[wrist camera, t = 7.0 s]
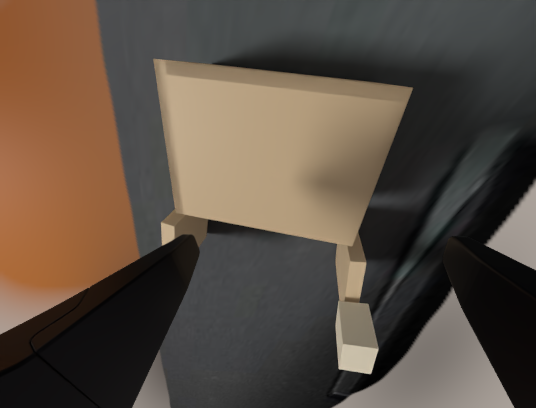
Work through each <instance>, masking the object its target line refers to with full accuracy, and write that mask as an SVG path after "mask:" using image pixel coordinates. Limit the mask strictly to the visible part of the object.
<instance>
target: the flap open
mask: <svg viewBox="0 0 536 408" xmlns="http://www.w3.org/2000/svg"><path fill="white" fill-rule="evenodd" d="M365 268H366V259H365V255H364V252H363V248H362V244H361V240H360V237H359V233H357V235H356V238H355V241H354V243H353V246H347V245H342V244H337V251H336V271H337V280H338V290H339V299H340V301H338V309H337V318H336V338H337V351H338V363H339V369H342V370H348V371H355V372H361V373H367V374H371V372H372V369H373V365H374V362H375V359H376V355H377V352H378V345H377V340H376V336H375V331H374V327H373V323H372V318H371V314H370V310H369V305H368V304H363V303H359V300H360V294H361V289H362V284H363V278H364V273H365Z"/></svg>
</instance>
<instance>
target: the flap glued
mask: <svg viewBox="0 0 536 408" xmlns="http://www.w3.org/2000/svg"><path fill="white" fill-rule="evenodd" d="M207 225H208V219H205V218H200V217H194V216H189V215H184V214H179V213H176V211H175V210H174V211H173V212H172V213H171V214H170V215H168V216H167V217H166V218H165V219H164V220H163V221H162V222H161V230H162V246H163V245H165V244H166V243H168V242H170V241H172V240H173V239H175V238H177V237H179V236H180V235H182V234H192V235H194V237H195V239H196V242H197V244H198V247H199V246H200V245H201V243H202V242H203V240H204V239H205V237H206V235H207Z"/></svg>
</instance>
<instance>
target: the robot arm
mask: <svg viewBox="0 0 536 408" xmlns="http://www.w3.org/2000/svg"><path fill="white" fill-rule="evenodd" d="M199 253H200V251H199V247H198V244H197V242H196V239H195V237H194V235H192V234H182V235H180V236H179V237H177V238H175V239H173V240H172V241H170V242H168V243H166V244H165V245H163V246H161V247H159V248H158V249H156V250H154V251H152V252H150V253H149V254H147V255H145V256H143V257H142V258H140V259H138V260H136V261H135V262H133V263H131V264H129V265H128V266H126V267H124V268H122V269H121V270H119V271H117V272H115V273H113V274H112V275H110V276H108V277H106V278H105V279H103V280H101V281H99V282H98V283H96V284H94V285H92V286H91V287H90V288H87V289H85V290H84V291H82V292H80V293H78V294H76V295H75V296H73V297H71V298H69V299H67V300H65V301H64V302H62V303H60V304H58V305H56V306H54V307H53V308H51V309H49V310H47V311H45V312H43V313H41V314H39V315H37V316H35V317H33V318H32V319H30V320H28V321H26V322H24V323H22V324H20V325H18V326H16V327H14V328H12V329H10V330H8V331H6V332H4V333H2V334H0V408H132V407H133V405H134V402H135V400H136V398H137V396H138V394H139V392H140V389H141V387H142V385H143V383H144V381H145V379H146V377H147V374H148V372H149V370H150V368H151V366H152V364H153V362H154V360H155V357H156V355H157V353H158V351H159V349H160V347H161V345H162V342H163V340H164V338H165V336H166V334H167V332H168V330H169V327H170V325H171V323H172V321H173V319H174V317H175V315H176V312H177V310H178V308H179V306H180V304H181V302H182V300H183V297H184V295H185V293H186V291H187V288H188V286H189V283H190V280H191V277H192V275H193V272H194V269H195V266H196V263H197V260H198V257H199ZM443 263H444V265H445V268H446V270H447V273H448V276H449V278H450V281H451V283H452V286H453V288H454V291H455V293H456V295H457V298H458V301H459V303H460V305H461V308H462V310H463V312H464V313H465V316H466V317H467V319H468V321H469V323H470V325H471V327H472V329H473V331H474V333H475V334H476V336H477V338H478V340H479V342H480V344H481V346H482V348H483V350H484V351H485V353H486V355H487V357H488V359H489V361H490V363H491V365H492V366H493V368H494V370H495V372H496V374H497V376H498V378H499V380H500V381H501V383H502V385H503V387H504V389H505V391H506V392H507V395H508V396H509V398H510V400H511V402H512V404H513V406H514V408H536V270H534V269H532V268H530V267H528V266H526V265H524V264H522V263H520V262H517V261H516V260H514V259H512V258H510V257H508V256H506V255H504V254H502V253H500V252H498V251H495V250H493V249H491V248H489V247H487V246H485V245H483V244H481V243H479V242H477V241H475V240H473V239H471V238H469V237H466V236H452V237H450V238H449V240H448V242H447V245H446V248H445V251H444V254H443Z"/></svg>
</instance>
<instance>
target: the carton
mask: <svg viewBox="0 0 536 408" xmlns="http://www.w3.org/2000/svg"><path fill="white" fill-rule="evenodd" d="M154 66H155V73H156V80H157V87H158V94H159V101H160V108H161V114H162V121H163V128H164V135H165V142H166V149H167V156H168V163H169V169H170V176H171V183H172V190H173V197H174V204H175V211H176V213H179V214H184V215H189V216H194V217H200V218H205V219H210V220H216V221H221V222H226V223H231V224H237V225H242V226H247V227H252V228H258V229H263V230H268V231H273V232H279V233H284V234H289V235H295V236H300V237H305V238H310V239H316V240H321V241H326V242H331V243H337V244H342V245H347V246H353V243H354V241H355V238H356V235H357V233H358V230H359V228H360V225H361V222H362V220H363V217H364V215H365V212H366V209H367V207H368V204H369V202H370V199H371V196H372V194H373V191H374V189H375V186H376V183H377V181H378V178H379V176H380V173H381V170H382V168H383V165H384V163H385V160H386V157H387V155H388V152H389V149H390V147H391V144H392V142H393V139H394V136H395V134H396V131H397V129H398V126H399V123H400V121H401V118H402V116H403V113H404V110H405V108H406V105H407V103H408V100H409V97H410V95H411V92H412V90H413V88H411V87H404V86H397V85H390V84H383V83H377V82H368V81H358V80H349V79H340V78H331V77H322V76H313V75H304V74H295V73H286V72H277V71H268V70H259V69H250V68H241V67H232V66H223V65H214V64H204V63H193V62H182V61H171V60H160V59H154Z"/></svg>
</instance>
